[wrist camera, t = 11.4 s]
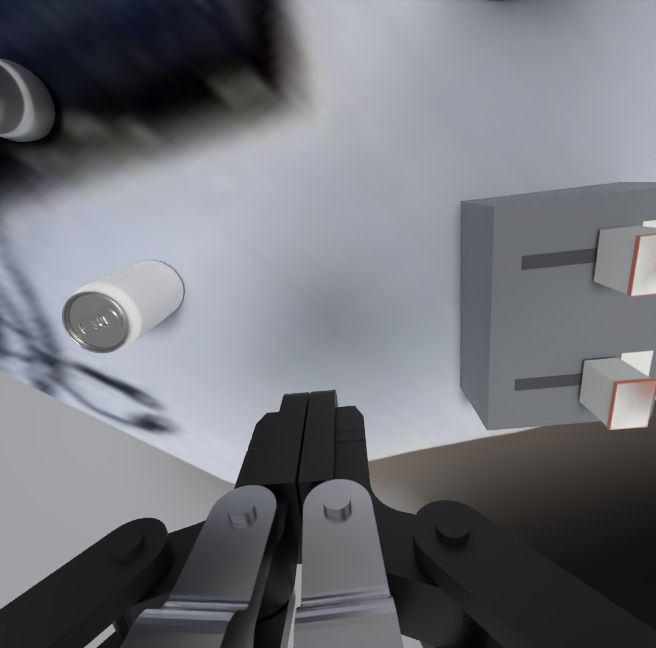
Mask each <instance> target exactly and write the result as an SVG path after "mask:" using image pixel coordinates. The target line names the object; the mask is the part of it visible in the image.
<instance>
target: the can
mask: <svg viewBox="0 0 656 648" xmlns="http://www.w3.org/2000/svg"><path fill="white" fill-rule="evenodd" d="M183 294H184V289H183V284H182V281H181V279H180V278H179V276H178V275H177V273H176V272H175V271H174V270H173V269H172V268H171V267H169V266H168V265H166V264H164V263H162V262H159V261H153V260H148V261H143V262H140V263H137V264H135V265H132V266H130V267H127V268H125V269H122V270H120V271H117V272H115V273H112V274H110V275H107V276H105V277H102V278H100V279H98V280H95V281H93V282H90V283H88V284H86V285H84V286H82V287H81V288H79V289H78V290H77V291H76V292H75V293H74V295H73V296H72V297H71V298H69V299H68V301H67V302H66V303H65V305H64V308H63V312H62V320H63V325H64V327H65V330H66V332H67V333H68V335H69V336H70V337H71V339H72V340H73V341H74V342H75V343H77V344H78V345H79V346H81V347H82V348H84V349H86V350H88V351H91V352H95V353H109V352H113V351H115V350H119V349H123V348H126V347H128V346H130V345H131V344H133V343H134V342H136V341H137V340H138V339H139V338H141V337H142V336H143V335H145V334H146V333H147V332H148V331H150V330H151V329H152V328H154V327H155V326H156V325H157V324H159V323H160V322H161V321H162V320H164V319H165V318H166V317H167V316H169V315H170V314H171V313H172V312H174V311H175V310H176V309H177V308H178V307H179V305H180V304H181V302H182V299H183Z"/></svg>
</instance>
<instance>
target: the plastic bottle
mask: <svg viewBox="0 0 656 648" xmlns="http://www.w3.org/2000/svg"><path fill="white" fill-rule="evenodd" d="M54 120H55V108H54V103H53V101H52V98H51V95H50V93H49V92H48V90H47V88H46V87H45V85H44V84H43V82H42V81H41V80H40V79H39V78H38V77H37V76H36V75H34V74H33V73H32V72H30V71H29V70H27V69H25V68H24V67H22V66H20V65H18V64H16V63H15V62H12V61H9V60H5V59H0V137H3V138H6V139H10V140H13V141H17V142H26V141H34V140H39V139H41V138H43V137H45V136H46V135H47V134H48V133H49V132H50V130H51V128H52V126H53V124H54Z"/></svg>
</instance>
